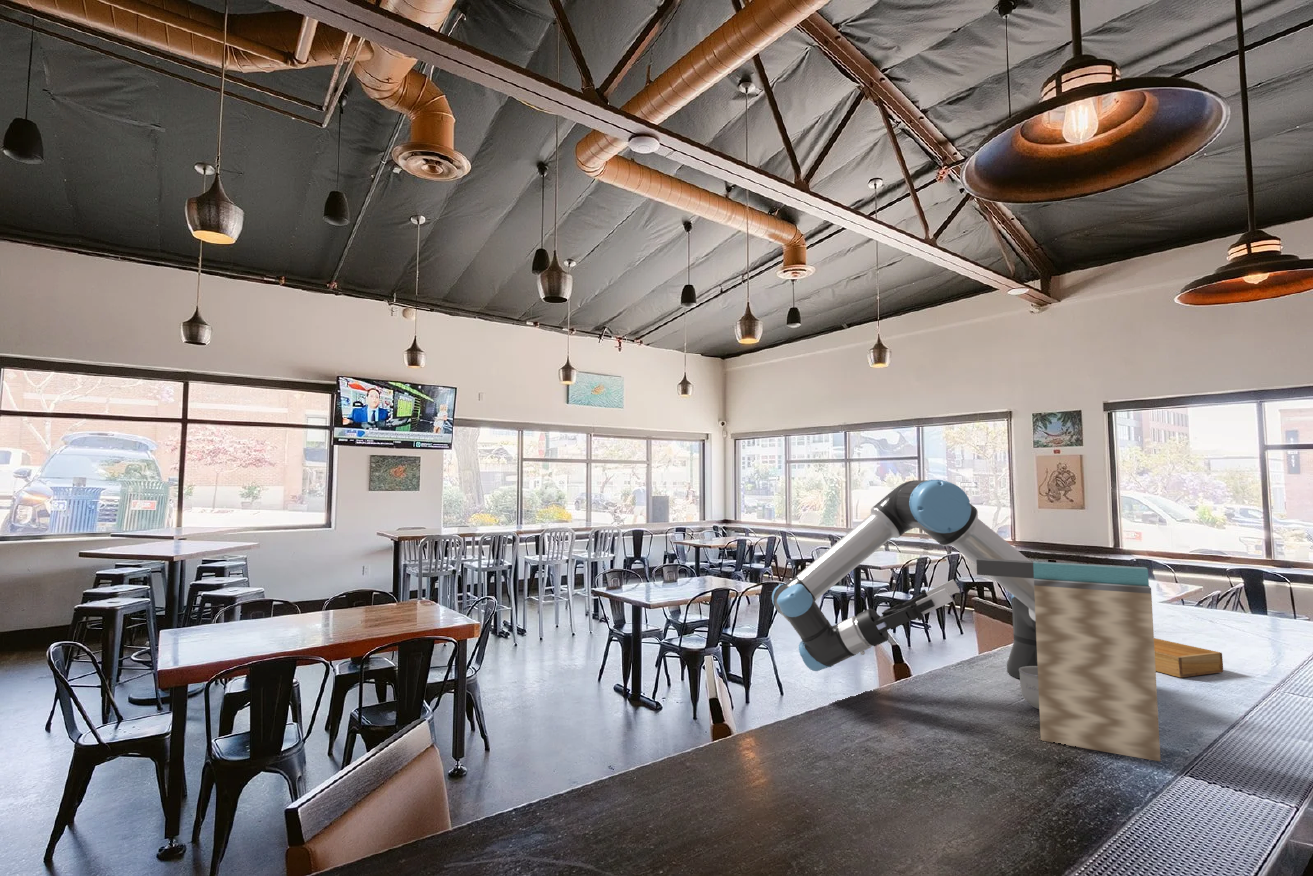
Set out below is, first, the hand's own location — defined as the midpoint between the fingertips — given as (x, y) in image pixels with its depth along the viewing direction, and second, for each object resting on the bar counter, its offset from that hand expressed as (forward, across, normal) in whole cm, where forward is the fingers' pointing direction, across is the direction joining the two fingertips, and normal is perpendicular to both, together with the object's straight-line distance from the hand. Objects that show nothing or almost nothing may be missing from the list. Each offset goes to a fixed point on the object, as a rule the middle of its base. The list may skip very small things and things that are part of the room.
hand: (953, 589), depth 133 cm
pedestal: (+7, 0, -35) cm, 35 cm away
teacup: (+2, -17, -32) cm, 36 cm away
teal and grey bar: (+18, 0, -6) cm, 19 cm away
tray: (+20, -73, -43) cm, 87 cm away
